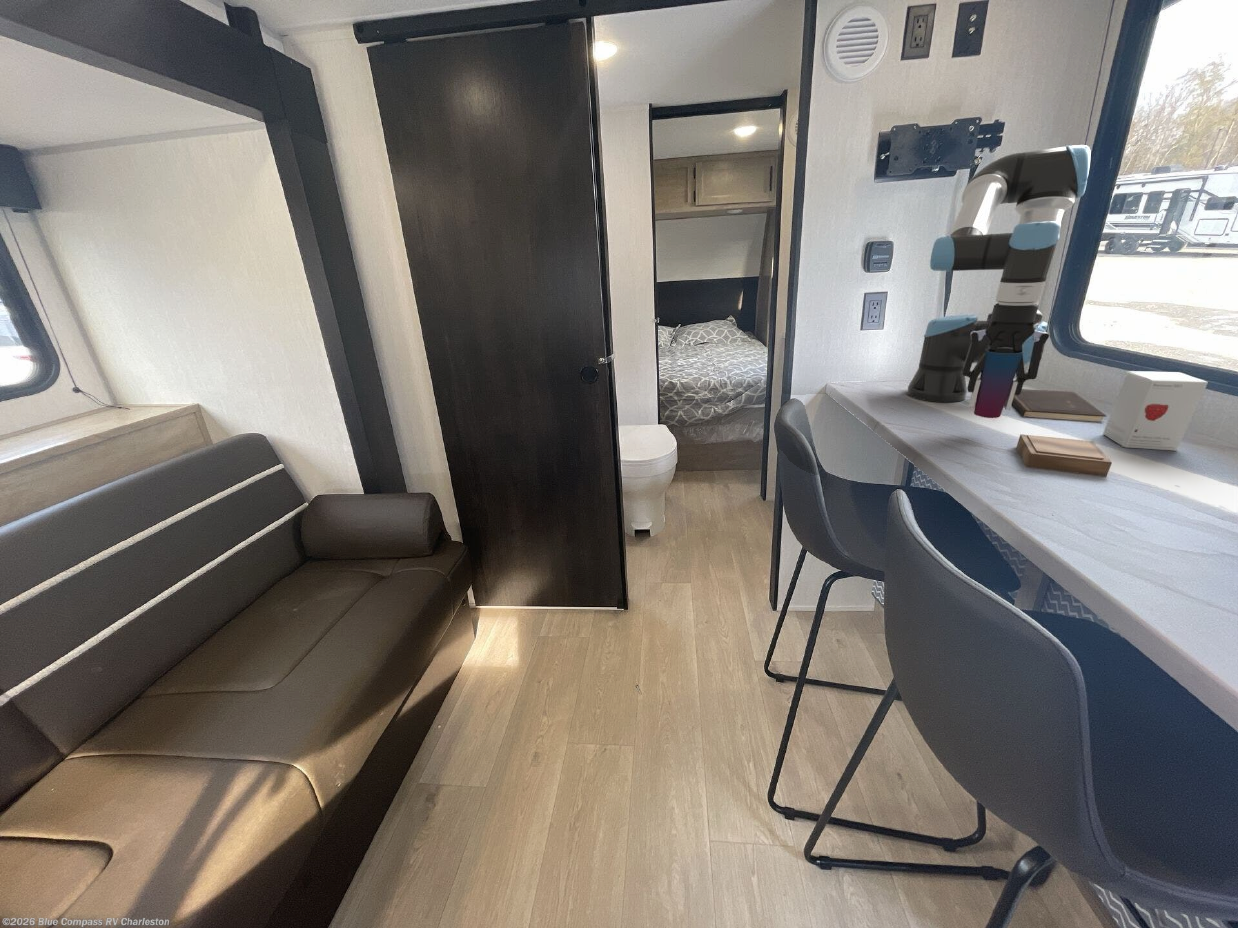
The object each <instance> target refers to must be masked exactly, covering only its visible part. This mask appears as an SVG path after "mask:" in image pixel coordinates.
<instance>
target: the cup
mask: <svg viewBox="0 0 1238 928" xmlns="http://www.w3.org/2000/svg"><path fill="white" fill-rule="evenodd" d="M1023 352H1024V351H1023V350H1022V352H1021V353H1014V351H1013V348H1007V347H1002V348H997V350H996V351H995V352H989V351H987V348H986V349H985V352H984V354H986V353H987V354H986V360H985V366H984V368H983V370H982V371H981V373H980V375H979V377H980V379H981V382H980V386H979V390H978V394H977V398H976V402H975V406H974V410H973V414H974V415H975V416H976V417H977V416H978V417H981V418H986V419H987V418H988V419H998V418H1000V417H1001V415H1002V412H1003V410H1004V408H1005V407H1004V404H1005V402H1006V399H1007V396H1008V393H1009V391H1010V388H1011V385H1012V382H1013V380H1014V379H1015V377H1016V371H1017V368H1018V365H1019V362H1020V359H1021V357H1022V354H1023Z"/></svg>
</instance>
